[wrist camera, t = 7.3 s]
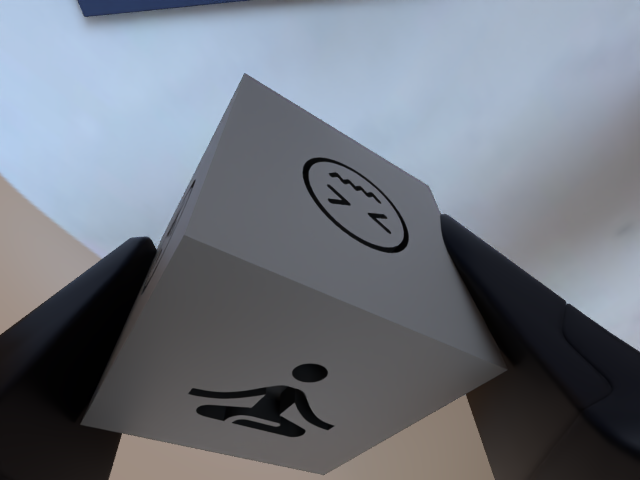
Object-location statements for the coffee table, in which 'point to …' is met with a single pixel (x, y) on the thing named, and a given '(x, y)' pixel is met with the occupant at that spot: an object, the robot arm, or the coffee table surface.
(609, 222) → the coffee table surface
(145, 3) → the cloth
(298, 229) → the dice cube
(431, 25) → the coffee table surface
